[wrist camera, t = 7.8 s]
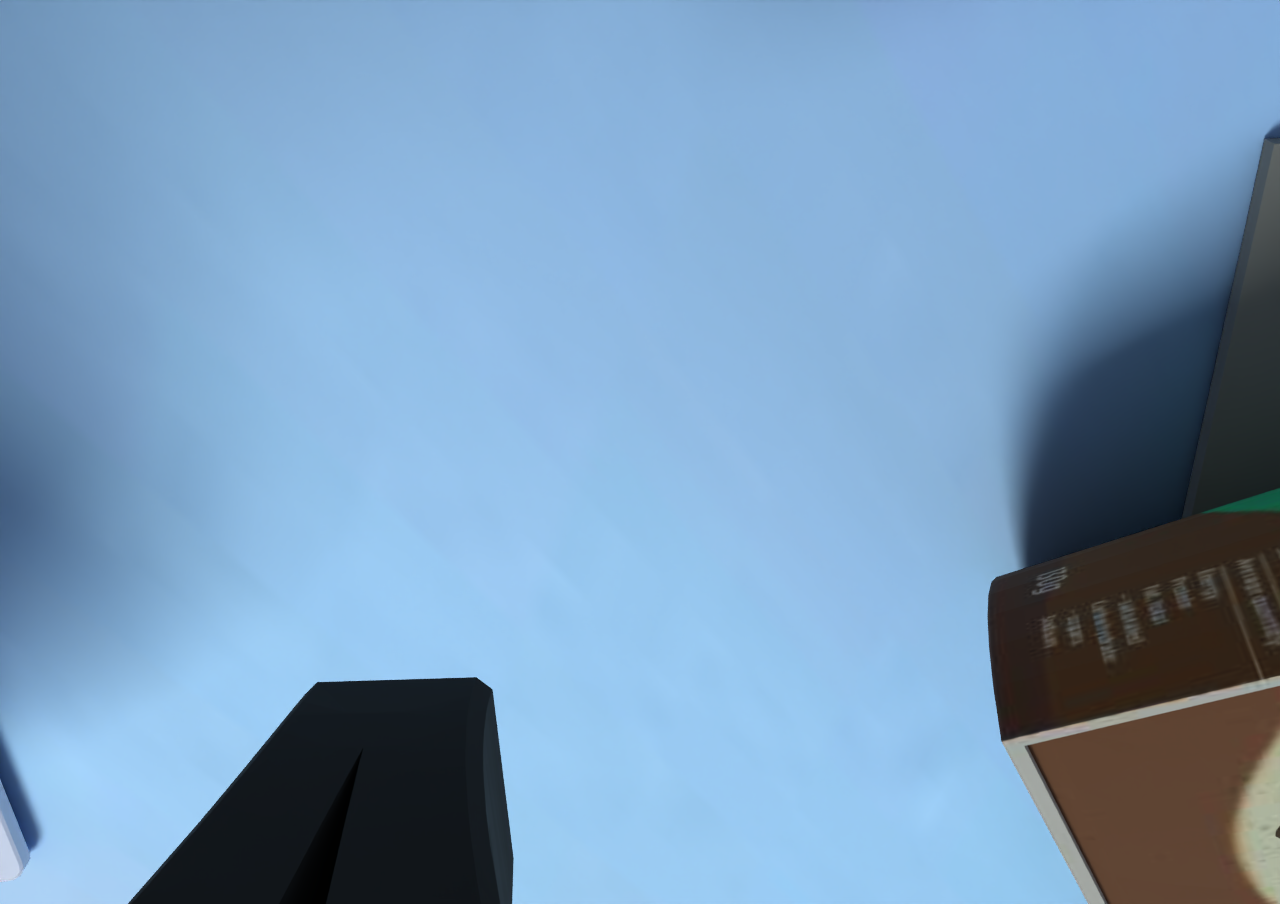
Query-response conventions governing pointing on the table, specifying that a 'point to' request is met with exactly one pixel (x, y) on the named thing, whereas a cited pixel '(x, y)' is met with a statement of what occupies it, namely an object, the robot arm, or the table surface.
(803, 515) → the table surface
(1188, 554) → the food container
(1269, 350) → the mat
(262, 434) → the table surface
